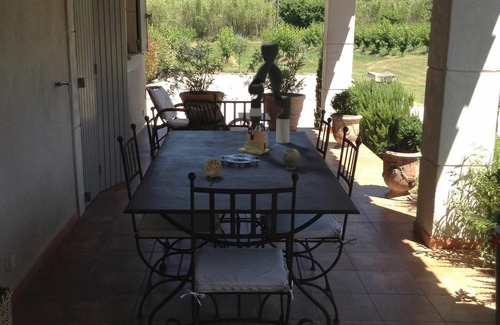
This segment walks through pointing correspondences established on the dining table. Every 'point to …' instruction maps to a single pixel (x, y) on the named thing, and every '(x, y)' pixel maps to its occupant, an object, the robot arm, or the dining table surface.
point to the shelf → (253, 148)
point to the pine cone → (213, 167)
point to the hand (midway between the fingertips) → (255, 139)
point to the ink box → (266, 138)
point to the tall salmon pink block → (257, 138)
